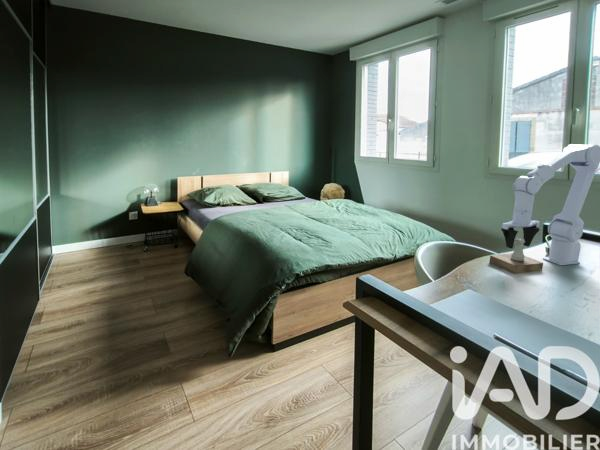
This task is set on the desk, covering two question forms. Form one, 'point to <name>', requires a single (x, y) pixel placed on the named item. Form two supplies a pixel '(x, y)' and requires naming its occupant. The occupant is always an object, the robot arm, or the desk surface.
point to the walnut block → (516, 264)
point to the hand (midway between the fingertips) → (517, 246)
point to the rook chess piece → (518, 250)
